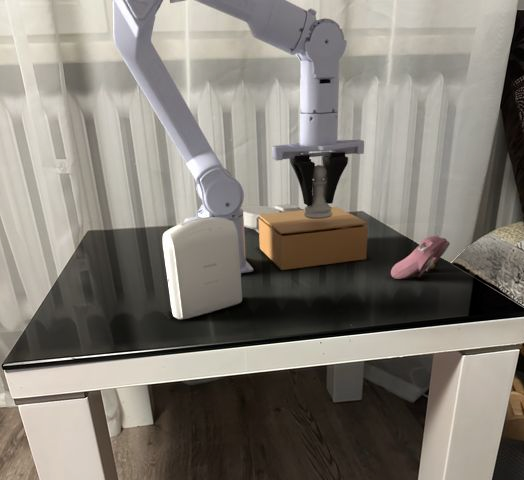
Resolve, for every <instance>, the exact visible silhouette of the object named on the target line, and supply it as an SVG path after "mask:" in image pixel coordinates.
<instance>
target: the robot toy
mask: <svg viewBox="0 0 524 480" xmlns="http://www.w3.org/2000/svg"><path fill="white" fill-rule="evenodd" d="M241 208H242V209H243V216H244V228H247V229H250V230H254V231H256V232H257V233H258V234H259V219H260V217H259V215H261V214H270V213H280V212H289V211H299V210H305V208H301V207H299V206H298V205H295V204H288V203H287V204H278V205H275V206H274V207H270V206H266V205H258V204H255V205H242V206H241Z"/></svg>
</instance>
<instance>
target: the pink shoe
mask: <svg viewBox="0 0 524 480" xmlns="http://www.w3.org/2000/svg"><path fill="white" fill-rule="evenodd" d="M450 244H451V242H450V241H448V240H447V239H446V237H445V238H444V237H440V236H439V235H438V234H436V235H435V236H434V235H433V236H428V237H424V238H423V239H422V240H421V242H420V244H419V245H418V246H417V247H416V248H415V249H413V251H412V252H411V253H410V254H409V255H408V256H406V257H404V258H403V259H402V260H399V261H398V262H397V263H395V264H394V265H393V266H392V267H391V269H390V275H391V277H392V278H394V279H395V280H404V279H407V278H410V277H412V276H413V275H415V276H416V277H417V278H421V276H422V275H423V274H424V273H425V272H429V271H430V270H431V269H434V268H435V266H436V265H435V264H436V262H437V261H439V259H441V257H442V256H443V255H444V254H445V253H446V251H447V250H448V248H449V246H450Z"/></svg>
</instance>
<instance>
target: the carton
mask: <svg viewBox="0 0 524 480" xmlns="http://www.w3.org/2000/svg"><path fill="white" fill-rule="evenodd" d="M368 223H369V222H368V221H365V220H363V218H360V217H358V216H356V215H354V214H351V213H349V214H348V215H339V216H331V217H329V218H324V219H303V220H293V221H284V222H275V223H269V224H267V223H266V222H265V221H264V220H263V219H262V218H260V219H259V233H258V237H259V238H258V239H259V250H261V252H263V254H265V256H267V257H268V258H269V259H270V260H271V261H272V262H273V263H274V264H275V265H276V266H277V267H278V268H279V269H280V270H281V271H285V270H293V269H301V268H309V267H316V266H324V265H333V264H338V263H346V262H354V261H361V260H362V261H363V260H367V253H368V252H367V251H368V230H369V227H368V226H367V225H368Z"/></svg>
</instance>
